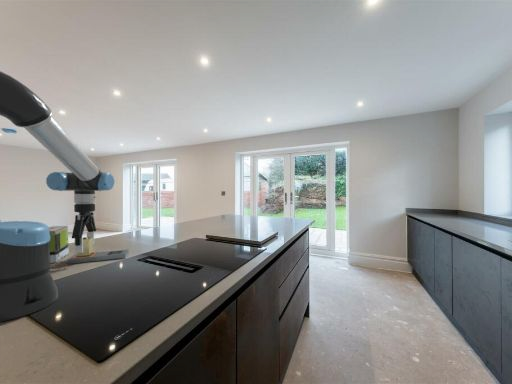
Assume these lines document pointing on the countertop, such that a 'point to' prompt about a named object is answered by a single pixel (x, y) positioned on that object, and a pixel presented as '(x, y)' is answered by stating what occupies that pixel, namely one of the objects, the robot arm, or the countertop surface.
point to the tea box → (58, 242)
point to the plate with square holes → (99, 256)
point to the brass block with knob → (86, 247)
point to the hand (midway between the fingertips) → (85, 248)
